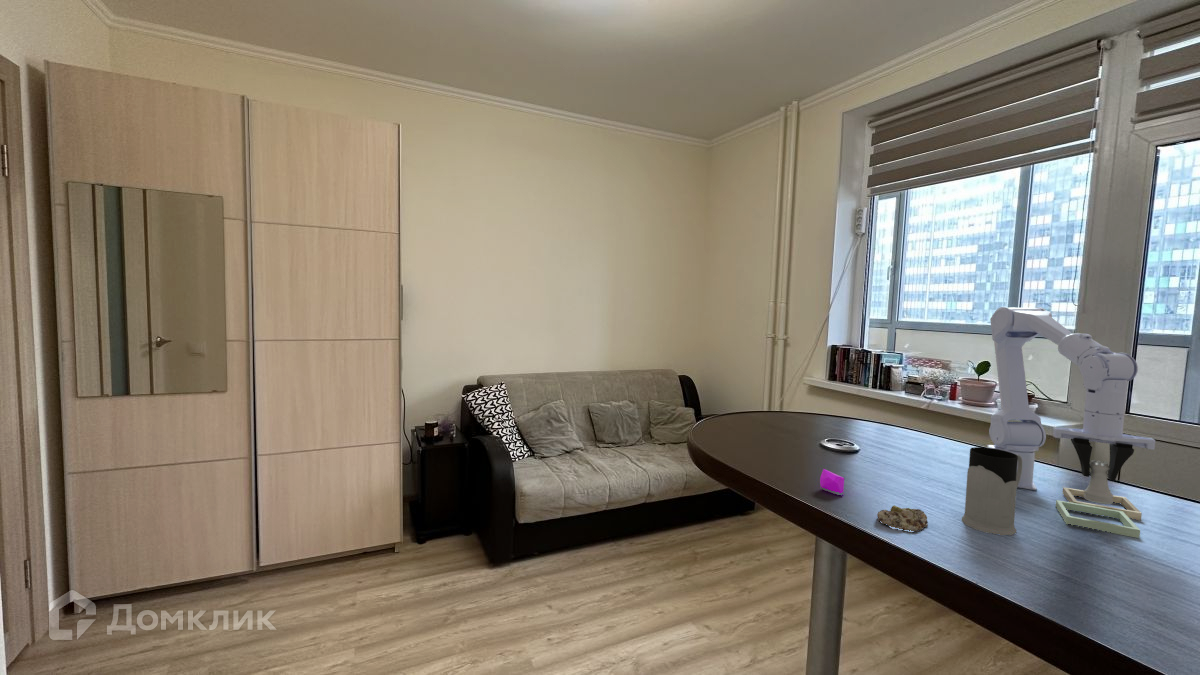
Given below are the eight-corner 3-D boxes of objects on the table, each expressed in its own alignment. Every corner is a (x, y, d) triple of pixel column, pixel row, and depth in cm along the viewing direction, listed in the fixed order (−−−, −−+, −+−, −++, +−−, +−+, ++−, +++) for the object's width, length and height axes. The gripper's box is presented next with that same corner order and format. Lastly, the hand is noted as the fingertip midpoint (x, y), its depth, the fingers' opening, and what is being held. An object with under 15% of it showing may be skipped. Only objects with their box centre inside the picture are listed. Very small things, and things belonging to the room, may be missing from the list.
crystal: (818, 493, 116) (819, 473, 115) (822, 486, 120) (823, 467, 120) (842, 498, 113) (843, 478, 113) (846, 491, 117) (847, 472, 117)
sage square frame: (1066, 524, 101) (1066, 516, 100) (1055, 506, 109) (1056, 499, 109) (1139, 538, 95) (1140, 530, 95) (1122, 518, 103) (1122, 511, 103)
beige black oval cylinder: (951, 520, 102) (956, 448, 101) (993, 509, 107) (998, 441, 106) (1000, 538, 94) (1005, 461, 93) (1042, 526, 99) (1047, 453, 98)
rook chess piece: (1120, 505, 99) (1121, 465, 98) (1093, 503, 100) (1094, 464, 99) (1102, 498, 103) (1103, 460, 103) (1077, 496, 104) (1078, 458, 104)
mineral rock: (900, 525, 94) (870, 499, 102) (894, 544, 96) (864, 516, 103) (945, 522, 97) (913, 496, 104) (938, 540, 98) (906, 513, 106)
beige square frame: (1072, 508, 108) (1073, 501, 108) (1062, 493, 117) (1063, 487, 117) (1141, 520, 103) (1141, 513, 102) (1124, 504, 111) (1125, 497, 111)
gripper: (1060, 410, 101) (1054, 475, 102) (1163, 420, 93) (1157, 491, 94) (1053, 405, 107) (1048, 466, 108) (1150, 414, 99) (1143, 480, 100)
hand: (1098, 477), depth 101 cm, fingers closed on rook chess piece, 3 cm apart
